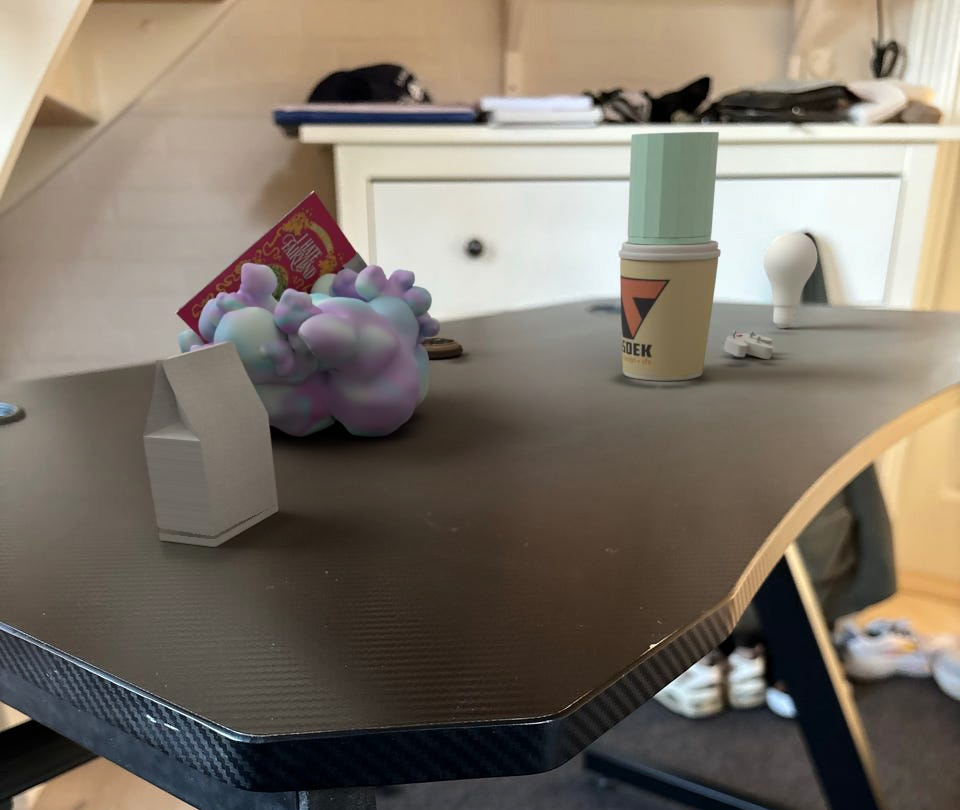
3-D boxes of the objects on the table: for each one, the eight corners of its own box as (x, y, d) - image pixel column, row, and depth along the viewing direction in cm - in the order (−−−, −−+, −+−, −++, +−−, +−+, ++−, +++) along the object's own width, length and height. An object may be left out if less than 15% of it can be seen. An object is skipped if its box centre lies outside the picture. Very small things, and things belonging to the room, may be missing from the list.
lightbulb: (815, 326, 124) (826, 230, 119) (800, 333, 119) (812, 233, 115) (766, 323, 127) (775, 229, 122) (750, 330, 122) (759, 232, 118)
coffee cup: (598, 369, 101) (601, 241, 96) (679, 362, 104) (687, 237, 99) (643, 386, 93) (650, 247, 88) (730, 377, 96) (741, 242, 91)
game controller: (766, 362, 103) (768, 336, 102) (658, 356, 108) (659, 330, 107) (779, 353, 107) (782, 327, 106) (676, 347, 113) (677, 323, 111)
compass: (458, 360, 108) (456, 288, 104) (386, 359, 109) (382, 288, 106) (470, 347, 115) (469, 280, 112) (402, 347, 116) (399, 280, 113)
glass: (711, 238, 96) (718, 133, 92) (710, 244, 89) (718, 131, 85) (631, 239, 98) (635, 135, 94) (624, 245, 91) (628, 133, 87)
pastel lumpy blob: (310, 410, 65) (384, 148, 65) (75, 371, 74) (141, 141, 74) (446, 494, 83) (504, 289, 84) (244, 454, 92) (297, 270, 93)
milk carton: (278, 510, 61) (260, 341, 57) (215, 547, 56) (189, 362, 51) (226, 505, 63) (205, 339, 58) (159, 540, 57) (130, 359, 53)
